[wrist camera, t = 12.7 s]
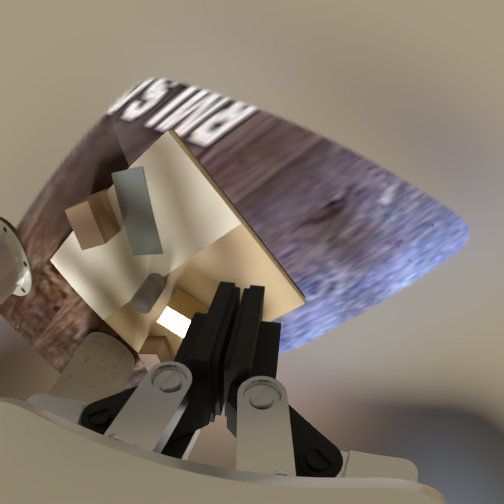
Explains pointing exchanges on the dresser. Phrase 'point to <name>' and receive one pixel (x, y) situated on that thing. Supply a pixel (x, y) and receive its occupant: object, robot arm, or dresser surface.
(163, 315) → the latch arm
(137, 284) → the door board
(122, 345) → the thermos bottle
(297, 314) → the dresser surface
